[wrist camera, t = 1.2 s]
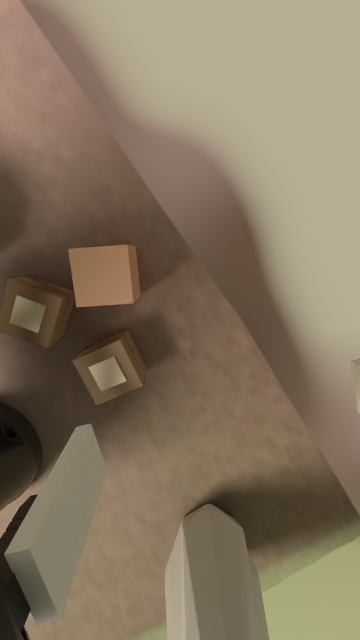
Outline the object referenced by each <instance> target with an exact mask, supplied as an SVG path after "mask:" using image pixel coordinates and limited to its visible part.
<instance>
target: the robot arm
mask: <svg viewBox="0 0 360 640" xmlns="http://www.w3.org/2000/svg"><path fill="white" fill-rule="evenodd" d="M351 364H352V372H353V380H354V387H355V394H356V402H357V409H358V412H359V413H360V359H358V360H354V361H351ZM41 457H42V453H41V445H40V442H39V439H38V436H37V434H36V432H35V430H34V429H33V427H32V426H31V425H30V423H29V422H28V421H27V420H26V419H25V418H24V417H23V416H22V415H20V414H19V413H18V412H16V411H15V410H13V409H12V408H10V407H8V406H6V405H3V404H0V511H1V510H2V509H3V508H5V507H6V506H7V505H8V504H10V503H11V502H13V501H14V500H16V499H17V498H18V497H20V496H21V495H22V494H23V493H24V492H25V491H26V489H27V488H28V487H29V485H30V484H31V482H32V481H33V479H34V477H35V476H36V474H37V472H38V470H39V468H40V464H41ZM106 472H107V468H106V465H105V462H104V460H103V457H102V454H101V451H100V448H99V445H98V442H97V439H96V437H95V434H94V431H93V428H92V425H91V423H90V424H86V425H82V426H78V427H76V428H75V430H74V432H73V433H72V435H71V437H70V439H69V441H68V442H67V444H66V446H65V448H64V449H63V451H62V453H61V455H60V456H59V458H58V460H57V462H56V464H55V465H54V467H53V469H52V471H51V472H50V474H49V476H48V478H47V479H46V481H45V483H44V485H43V487H42V488H41V490H40V492H39V494H37V495H32V496H30V497H29V498H28V499H27V500H26V501H25V502H24V503H23V504H22V505H21V506H20V507H19V509H18V511H17V512H16V514H15V516H14V517H13V519H12V522H10V524H9V525H8V527H7V529H6V532H4V534H3V535H2V537H1V539H0V640H29V637H28V634H27V632H26V630H25V627H24V625H25V622H26V620H27V617H28V615H29V612H31V614H32V616H33V618H34V620H35V622H36V624H37V625H39V624H43V623H48V622H53V621H57V620H61V617H62V613H63V610H64V607H65V604H66V601H67V597H68V594H69V591H70V588H71V585H72V581H73V578H74V575H75V572H76V568H77V565H78V562H79V559H80V556H81V552H82V549H83V546H84V543H85V539H86V536H87V533H88V530H89V527H90V523H91V520H92V517H93V514H94V511H95V507H96V504H97V501H98V498H99V494H100V491H101V488H102V485H103V482H104V478H105V475H106Z"/></svg>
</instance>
